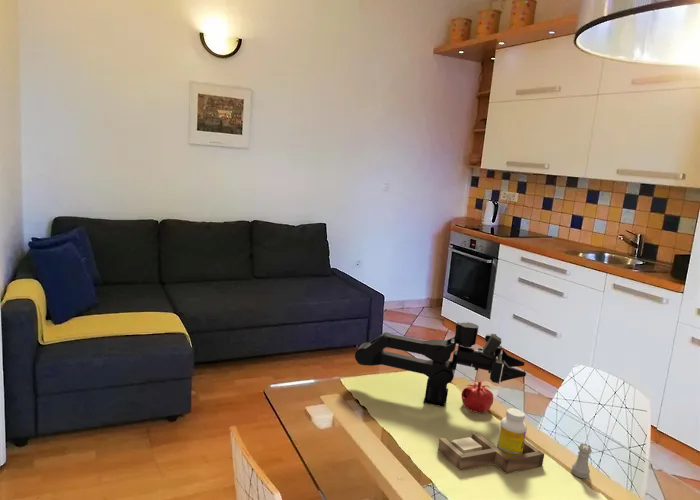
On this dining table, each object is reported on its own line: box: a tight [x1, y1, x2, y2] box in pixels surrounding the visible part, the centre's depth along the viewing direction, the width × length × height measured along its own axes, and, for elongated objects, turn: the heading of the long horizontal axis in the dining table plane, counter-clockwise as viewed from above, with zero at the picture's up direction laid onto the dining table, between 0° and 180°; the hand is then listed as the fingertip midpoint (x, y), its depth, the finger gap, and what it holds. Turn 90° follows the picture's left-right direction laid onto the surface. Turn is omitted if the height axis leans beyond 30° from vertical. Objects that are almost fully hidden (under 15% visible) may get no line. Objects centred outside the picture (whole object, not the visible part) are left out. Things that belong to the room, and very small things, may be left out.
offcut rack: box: [437, 432, 545, 475], centre depth 137 cm, size 14×24×4 cm, turn 116°
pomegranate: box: [461, 380, 494, 414], centre depth 166 cm, size 10×10×9 cm
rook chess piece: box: [570, 442, 593, 480], centre depth 134 cm, size 4×4×8 cm
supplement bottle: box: [495, 407, 528, 457], centre depth 138 cm, size 7×7×13 cm
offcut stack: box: [450, 436, 482, 454], centre depth 137 cm, size 6×7×4 cm
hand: (525, 369), depth 159 cm, fingers open, 9 cm apart
